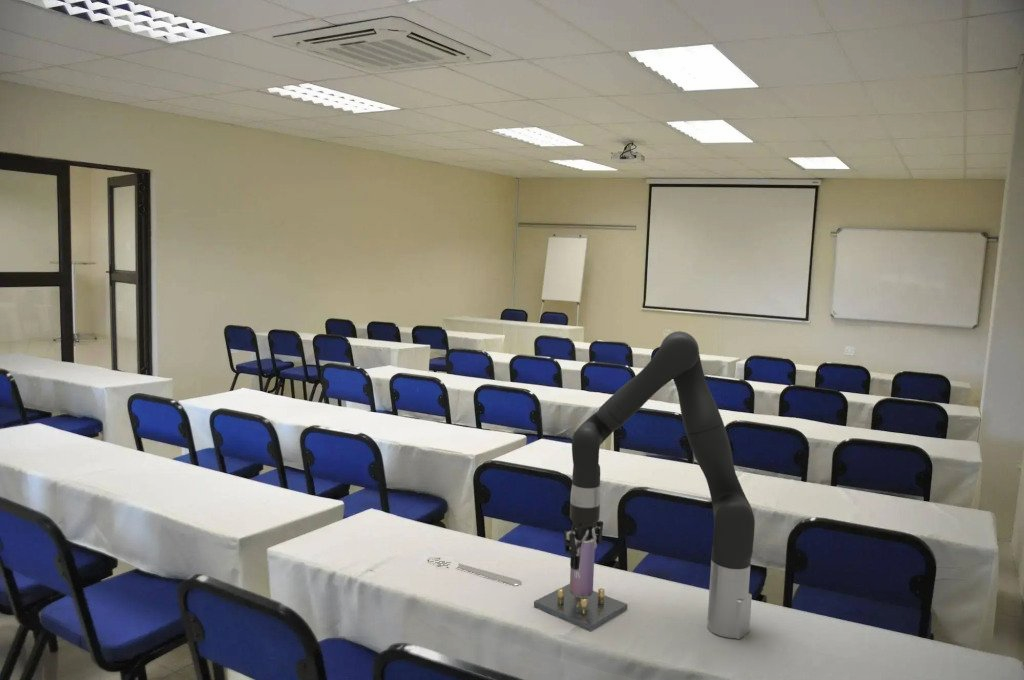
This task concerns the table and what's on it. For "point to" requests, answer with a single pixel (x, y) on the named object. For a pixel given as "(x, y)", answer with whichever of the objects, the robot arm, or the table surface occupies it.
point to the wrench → (484, 573)
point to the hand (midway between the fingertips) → (582, 564)
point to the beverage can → (583, 570)
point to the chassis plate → (575, 608)
